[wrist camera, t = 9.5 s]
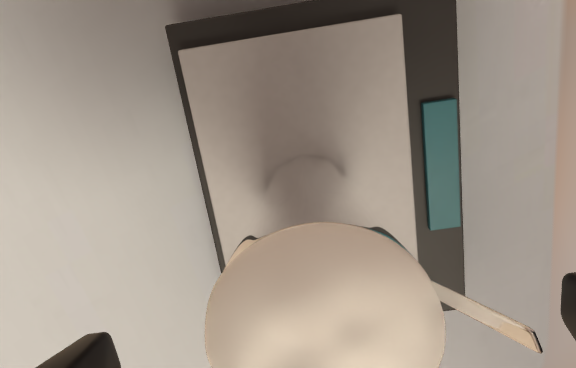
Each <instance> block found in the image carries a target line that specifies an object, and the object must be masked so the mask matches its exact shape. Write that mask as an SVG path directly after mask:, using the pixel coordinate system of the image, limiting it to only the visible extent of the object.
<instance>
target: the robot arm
mask: <svg viewBox="0 0 576 368" xmlns="http://www.w3.org/2000/svg"><path fill="white" fill-rule="evenodd" d="M561 315H562V319H563V321H564V323H565V325H566V327H567V328H568V330H569V331H570V333H571V334H572V336H573V337H574V339H575V340H576V272H574V273H568V274H566V275H565V276H564V278H563V280H562V295H561ZM36 368H121V365H120V361H119V358H118V355H117V352H116V349H115V346H114V343H113V340H112V338H111V336H110V335H109V334H108V333H106V332H101V333H93V334H87V335H85V336H83V337H82V338H80V339H79V340H77V341H76V342H74V343H73V344H71V345H70V346H68V347H67V348H65V349H64V350H62V351H60V352H59V353H57V354H56V355H54V356H53V357H51V358H50V359H48V360H47V361H45V362H44V363H42V364H41V365H39V366H37V367H36Z"/></svg>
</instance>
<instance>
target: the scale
mask: <svg viewBox="0 0 576 368" xmlns="http://www.w3.org/2000/svg"><path fill="white" fill-rule="evenodd" d="M165 28H166V33H167V37H168V41H169V46H170V50H171V55H172V59H173V63H174V68H175V72H176V76H177V81H178V85H179V90H180V94H181V98H182V103H183V107H184V111H185V116H186V120H187V125H188V129H189V133H190V138H191V142H192V146H193V151H194V155H195V160H196V164H197V168H198V173H199V177H200V182H201V186H202V190H203V195H204V199H205V203H206V208H207V212H208V217H209V221H210V225H211V230H212V234H213V238H214V243H215V247H216V252H217V256H218V260H219V265H220V269H221V273H222V272H223V271H224V269H225V267H226V265H227V263H228V261H229V260H230V258H231V256H232V254H233V252H234V250H235V249H236V247H237V245H238V243H239V241H240V240H241V238H242V236H243V234H244V233H245V231H246V229H247V228H248V226H249V225H250V223H251V221H252V219H253V217H254V215H255V212H256V210H257V208H258V206H259V203H260V201H261V199H262V196H263V194H264V192H265V190H266V188H267V186H268V184H269V182H270V180H271V178H272V176H273V174H274V172H275V170H276V169H277V168H278V167H280V166H282V165H284V164H286V163H288V162H290V161H292V160H294V159H296V158H298V157H299V156H301V155H303V156H309V157H316V158H323V159H330V160H331V161H332V162H333V163H334V164H335V165H336V166H337V167H338V168H339V169H340V170H341V171H342V172H343V173H344V174H345V175H346V176H347V177H348V178H349V179H350V180H351V182H352V183H353V184H354V186H355V187H356V188H357V190H358V191H359V192H360V194H361V195H362V196H363V198H364V199H365V200H366V202H367V203H368V204H369V206H370V207H371V208H372V210H373V211H374V212H375V214H376V215H377V216H378V218H379V219H380V220H381V221H382V222H383V223H384V224H385V225H386V226H387V227H388V228H389V230H390V231H391V232H392V233H393V234H394V235H395V236H396V238H397V239H398V240H399V241H400V242H401V243H402V245H403V246H404V247H405V248H406V249H407V250H408V251H409V253H410V254H411V255H412V256H413V257H414V258H415V260H416V261H417V262H418V263H419V264H420V265H421V267H422V268H423V269H424V270H425V272H426V273H427V275H428V276H429V278H430V279H431V280H432V281H434V282H436V283H438V284H440V285H443V286H445V287H447V288H449V289H451V290H453V291H455V292H457V293H459V294H461V295H463V296H465V282H464V249H463V215H462V182H461V149H460V115H459V82H458V48H457V15H456V0H313V1H307V2H301V3H295V4H289V5H283V6H277V7H272V8H266V9H260V10H254V11H248V12H242V13H236V14H230V15H224V16H218V17H212V18H206V19H201V20H195V21H189V22H183V23H177V24H171V25H166V26H165ZM440 302H441V301H440ZM441 306H442V309H443V311H449V310H456V309H454V308H452V307H451V306H449V305H447V304H445V303H443V302H441Z"/></svg>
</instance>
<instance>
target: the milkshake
mask: <svg viewBox="0 0 576 368" xmlns="http://www.w3.org/2000/svg"><path fill="white" fill-rule="evenodd" d="M440 301H441V302H443V303H445V304H447V305H449V306H451V307H452V308H454V309H456V310H458V311H460V312H462V313H464V314H466V315H467V316H469V317H471V318H473V319H475V320H477V321H479V322H481V323H483V324H484V325H486V326H488V327H490V328H492V329H494V330H496V331H498V332H499V333H501V334H503V335H505V336H507V337H509V338H511V339H513V340H514V341H516V342H518V343H520V344H522V345H524V346H526V347H528V348H530V349H531V350H533V351H535V352H538V353H540V354H541V353H542V352H543V351H542V348H541V345H540V343H539V340H538V338H537V336H536V333H535V332H534V330H533V329H531V328H530V327H528V326H526V325H524V324H522V323H520V322H518V321H516V320H514V319H511V318H509V317H507V316H505V315H503V314H501V313H499V312H497V311H495V310H493V309H491V308H488V307H486V306H484V305H482V304H480V303H478V302H476V301H474V300H472V299H470V298H468V297H466V296H463V295H461V294H459V293H457V292H455V291H453V290H451V289H449V288H447V287H445V286H443V285H440V284H438V283H436V282H434V281H432V280H431V279H430V278H429V276H428V275H427V273H426V272H425V270H424V269H423V268H422V267H421V265H420V264H419V263H418V262H417V261H416V260H415V258H414V257H413V256H412V255H411V254H410V253H409V251H408V250H407V249H406V248H405V247H404V246H403V245H402V243H401V242H400V241H399V240H398V239H397V238H396V236H395V235H394V234H393V233H392V232H391V231H390V230H389V228H388V227H387V226H386V225H385V224H384V223H383V222H382V221H381V220H380V219H379V218H378V216H377V215H376V214H375V212H374V211H373V210H372V208H371V207H370V206H369V204H368V203H367V202H366V200H365V199H364V198H363V196H362V195H361V194H360V192H359V191H358V190H357V188H356V187H355V186H354V184H353V183H352V182H351V180H350V179H349V178H348V177H347V176H346V175H345V174H344V173H343V172H342V171H341V170H340V169H339V168H338V167H337V166H336V165H335V164H334V163H333V162H332V161H331V160H330V159H323V158H316V157H309V156H303V155H301V156H299V157H298V158H296V159H294V160H292V161H290V162H288V163H286V164H284V165H282V166H280V167H278V168H277V169H276V170H275V172H274V174H273V176H272V178H271V180H270V182H269V184H268V186H267V188H266V190H265V192H264V194H263V196H262V199H261V201H260V203H259V206H258V208H257V210H256V212H255V215H254V217H253V219H252V221H251V223H250V225H249V226H248V228H247V229H246V231H245V233H244V234H243V236H242V238H241V240H240V241H239V243H238V245H237V247H236V249H235V250H234V252H233V254H232V256H231V258H230V260H229V261H228V263H227V265H226V267H225V269H224V271H223V272H222V274H221V276H220V277H219V278H218V280H217V282H216V283H215V285H214V287H213V289H212V292H211V294H210V297H209V301H208V305H207V311H206V320H205V348H206V354H207V357H208V360H209V363H210V365H211V367H212V368H438V367H439V365H440V362H441V360H442V357H443V353H444V348H445V340H446V329H445V320H444V314H443V309H442V306H441V302H440Z"/></svg>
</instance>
